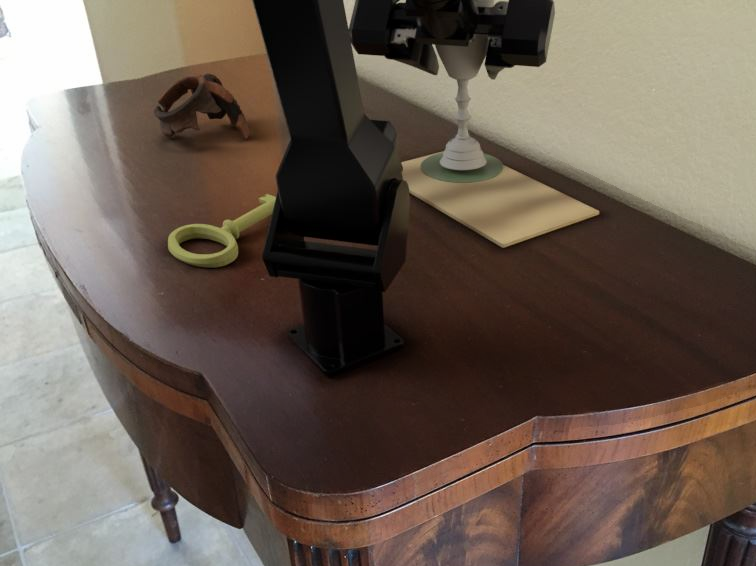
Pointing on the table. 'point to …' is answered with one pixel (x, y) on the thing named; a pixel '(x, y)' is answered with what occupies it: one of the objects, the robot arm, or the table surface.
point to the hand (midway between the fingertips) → (465, 73)
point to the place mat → (493, 199)
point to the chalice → (464, 98)
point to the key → (218, 236)
